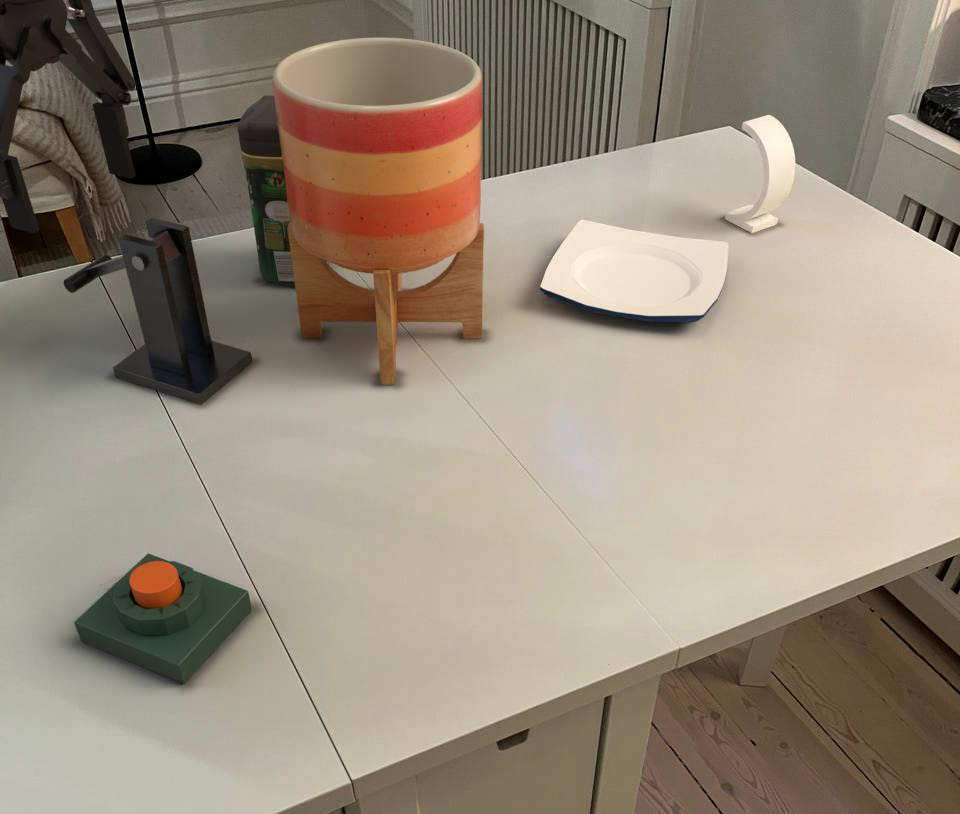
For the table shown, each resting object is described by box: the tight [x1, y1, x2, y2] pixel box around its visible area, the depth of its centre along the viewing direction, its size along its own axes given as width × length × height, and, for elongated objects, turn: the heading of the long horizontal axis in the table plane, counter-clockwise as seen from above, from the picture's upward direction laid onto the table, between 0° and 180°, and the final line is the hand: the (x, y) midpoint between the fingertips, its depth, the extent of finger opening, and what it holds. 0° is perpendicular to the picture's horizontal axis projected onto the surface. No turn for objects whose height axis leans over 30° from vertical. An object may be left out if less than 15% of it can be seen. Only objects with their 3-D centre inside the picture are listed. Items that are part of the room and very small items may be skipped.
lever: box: [62, 231, 180, 294], centre depth 100 cm, size 13×6×2 cm, turn 64°
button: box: [129, 561, 182, 609], centre depth 78 cm, size 4×4×2 cm
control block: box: [73, 553, 253, 685], centre depth 80 cm, size 10×9×4 cm
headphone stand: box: [724, 114, 796, 234], centre depth 128 cm, size 5×6×12 cm
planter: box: [272, 37, 485, 386], centre depth 102 cm, size 20×20×27 cm
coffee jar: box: [237, 94, 328, 286], centre depth 116 cm, size 10×8×19 cm
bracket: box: [112, 217, 254, 405], centre depth 102 cm, size 11×9×15 cm
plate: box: [539, 219, 730, 323], centre depth 120 cm, size 20×20×3 cm
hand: (76, 201), depth 98 cm, fingers open, 13 cm apart
